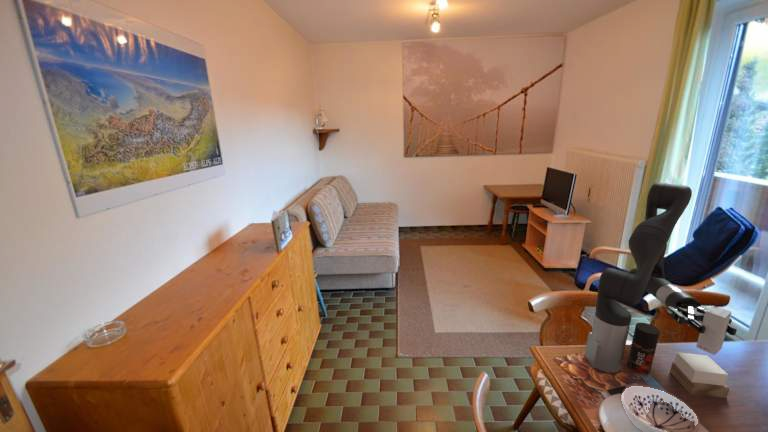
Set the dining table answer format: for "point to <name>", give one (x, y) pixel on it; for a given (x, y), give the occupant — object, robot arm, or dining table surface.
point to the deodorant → (643, 348)
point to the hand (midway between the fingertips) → (718, 331)
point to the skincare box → (713, 329)
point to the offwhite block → (700, 369)
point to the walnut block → (699, 385)
